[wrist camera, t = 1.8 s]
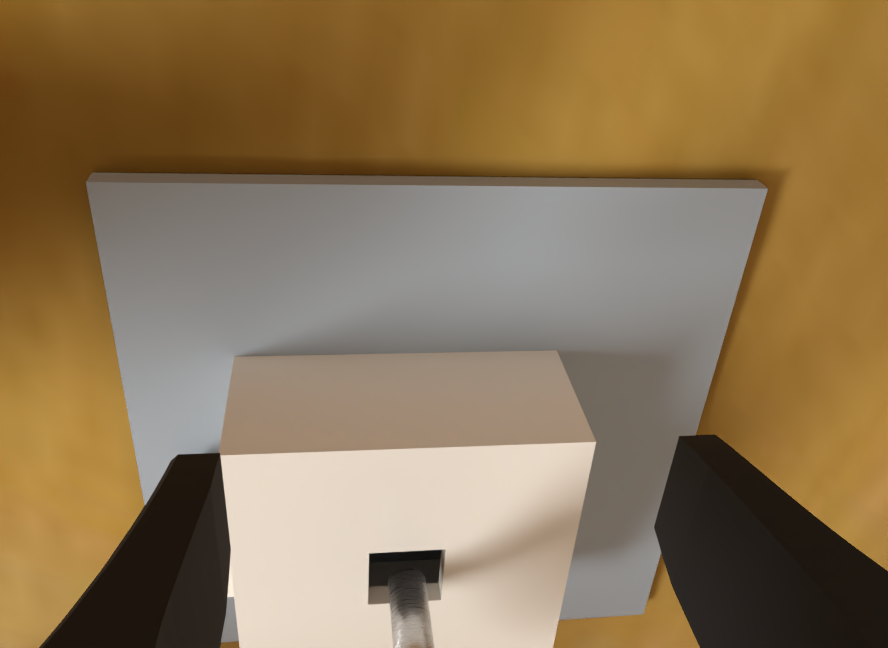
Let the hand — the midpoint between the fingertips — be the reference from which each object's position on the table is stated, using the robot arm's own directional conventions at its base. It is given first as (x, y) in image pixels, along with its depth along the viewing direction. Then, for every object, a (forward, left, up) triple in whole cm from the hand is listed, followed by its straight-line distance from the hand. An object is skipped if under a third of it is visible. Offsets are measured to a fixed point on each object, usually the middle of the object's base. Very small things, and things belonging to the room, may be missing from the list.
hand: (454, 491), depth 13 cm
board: (-7, -1, -10) cm, 12 cm away
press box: (-8, 0, -9) cm, 12 cm away
